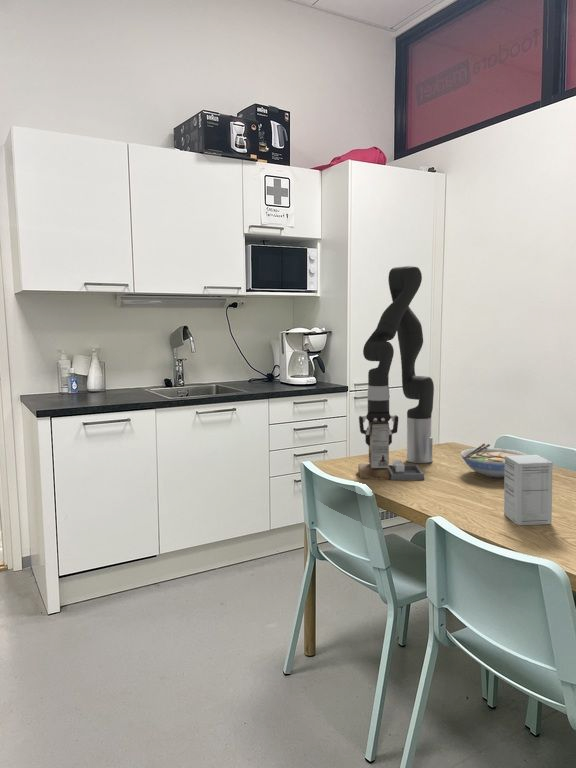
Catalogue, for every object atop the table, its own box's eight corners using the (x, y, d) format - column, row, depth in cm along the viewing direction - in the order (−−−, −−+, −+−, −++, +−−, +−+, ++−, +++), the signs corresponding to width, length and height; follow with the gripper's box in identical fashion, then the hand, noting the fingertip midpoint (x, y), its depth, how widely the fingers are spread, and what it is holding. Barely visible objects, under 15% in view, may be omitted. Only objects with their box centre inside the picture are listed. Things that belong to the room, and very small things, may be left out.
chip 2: (394, 474, 202) (402, 474, 202) (395, 477, 198) (404, 476, 198) (394, 462, 201) (402, 462, 201) (395, 465, 198) (404, 465, 197)
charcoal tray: (416, 470, 209) (416, 464, 208) (424, 479, 196) (424, 474, 195) (386, 470, 209) (386, 465, 209) (391, 480, 196) (391, 474, 196)
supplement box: (536, 513, 159) (538, 454, 158) (552, 524, 150) (554, 462, 149) (502, 514, 159) (503, 455, 157) (516, 525, 150) (518, 463, 148)
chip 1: (392, 470, 206) (400, 470, 206) (393, 473, 202) (402, 473, 202) (392, 459, 206) (400, 459, 206) (393, 462, 202) (402, 462, 202)
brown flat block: (386, 471, 207) (386, 463, 207) (389, 478, 198) (389, 470, 198) (358, 472, 207) (358, 464, 207) (360, 478, 198) (360, 470, 198)
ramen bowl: (517, 488, 183) (518, 463, 183) (449, 478, 197) (449, 455, 196) (537, 472, 203) (538, 449, 202) (474, 463, 217) (474, 442, 216)
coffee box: (368, 462, 207) (367, 418, 205) (385, 461, 207) (385, 418, 205) (371, 468, 198) (371, 422, 196) (389, 468, 198) (389, 422, 196)
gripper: (397, 396, 203) (397, 442, 205) (356, 397, 204) (357, 443, 206) (400, 399, 196) (400, 447, 198) (358, 399, 196) (359, 447, 198)
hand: (378, 444), depth 202 cm, fingers closed on coffee box, 6 cm apart
